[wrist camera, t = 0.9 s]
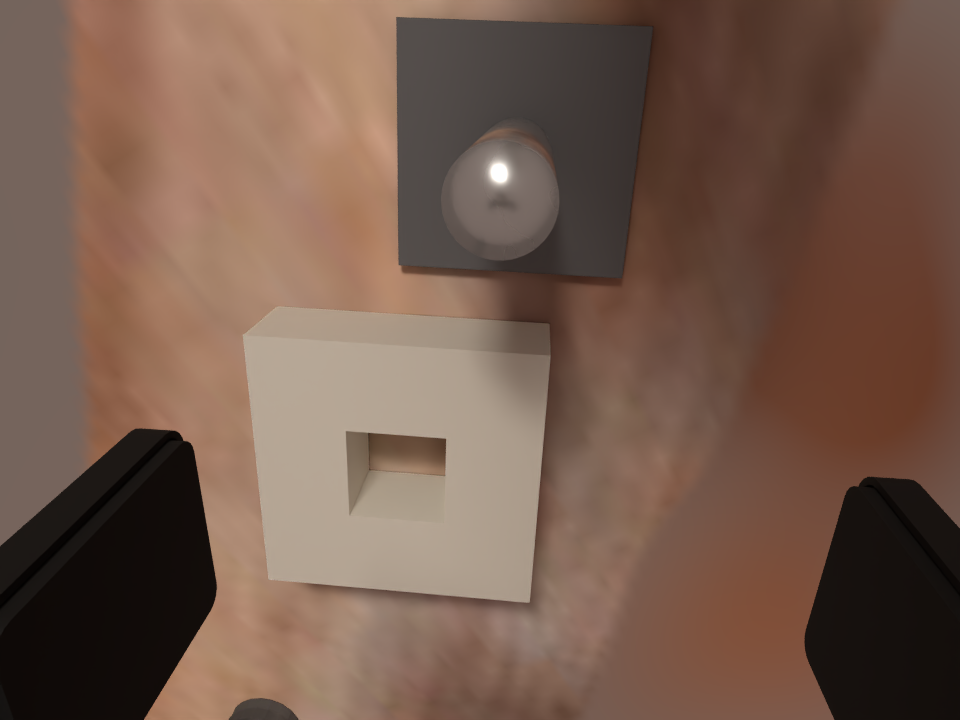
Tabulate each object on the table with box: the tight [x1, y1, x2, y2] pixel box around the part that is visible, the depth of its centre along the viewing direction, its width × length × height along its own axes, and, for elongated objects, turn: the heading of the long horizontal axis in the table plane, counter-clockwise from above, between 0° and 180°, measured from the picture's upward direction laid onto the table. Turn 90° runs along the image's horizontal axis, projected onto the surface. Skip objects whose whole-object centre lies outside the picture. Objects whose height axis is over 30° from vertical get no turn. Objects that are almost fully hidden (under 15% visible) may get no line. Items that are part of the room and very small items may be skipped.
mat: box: [396, 17, 653, 278], centre depth 28 cm, size 10×10×1 cm
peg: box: [441, 117, 559, 260], centre depth 22 cm, size 3×3×12 cm
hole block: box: [243, 306, 551, 603], centre depth 32 cm, size 13×13×4 cm
